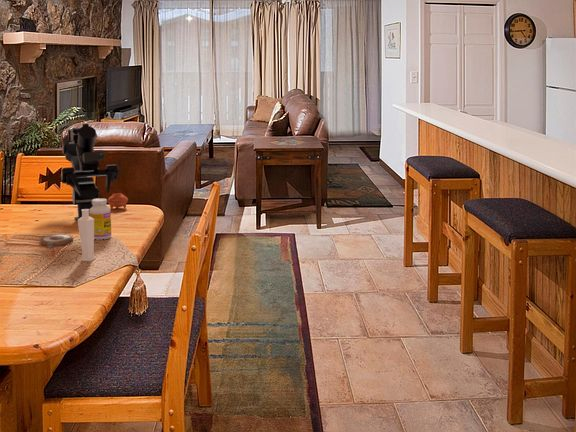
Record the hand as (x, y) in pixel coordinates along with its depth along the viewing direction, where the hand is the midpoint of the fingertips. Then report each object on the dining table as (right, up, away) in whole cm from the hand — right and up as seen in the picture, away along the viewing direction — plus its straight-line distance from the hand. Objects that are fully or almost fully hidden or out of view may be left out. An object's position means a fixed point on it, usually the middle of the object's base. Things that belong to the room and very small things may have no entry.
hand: (94, 193), depth 216 cm
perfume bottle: (+6, -20, -27) cm, 34 cm away
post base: (-9, -16, -9) cm, 21 cm away
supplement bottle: (+3, -15, -4) cm, 16 cm away
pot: (-2, -5, +39) cm, 39 cm away
